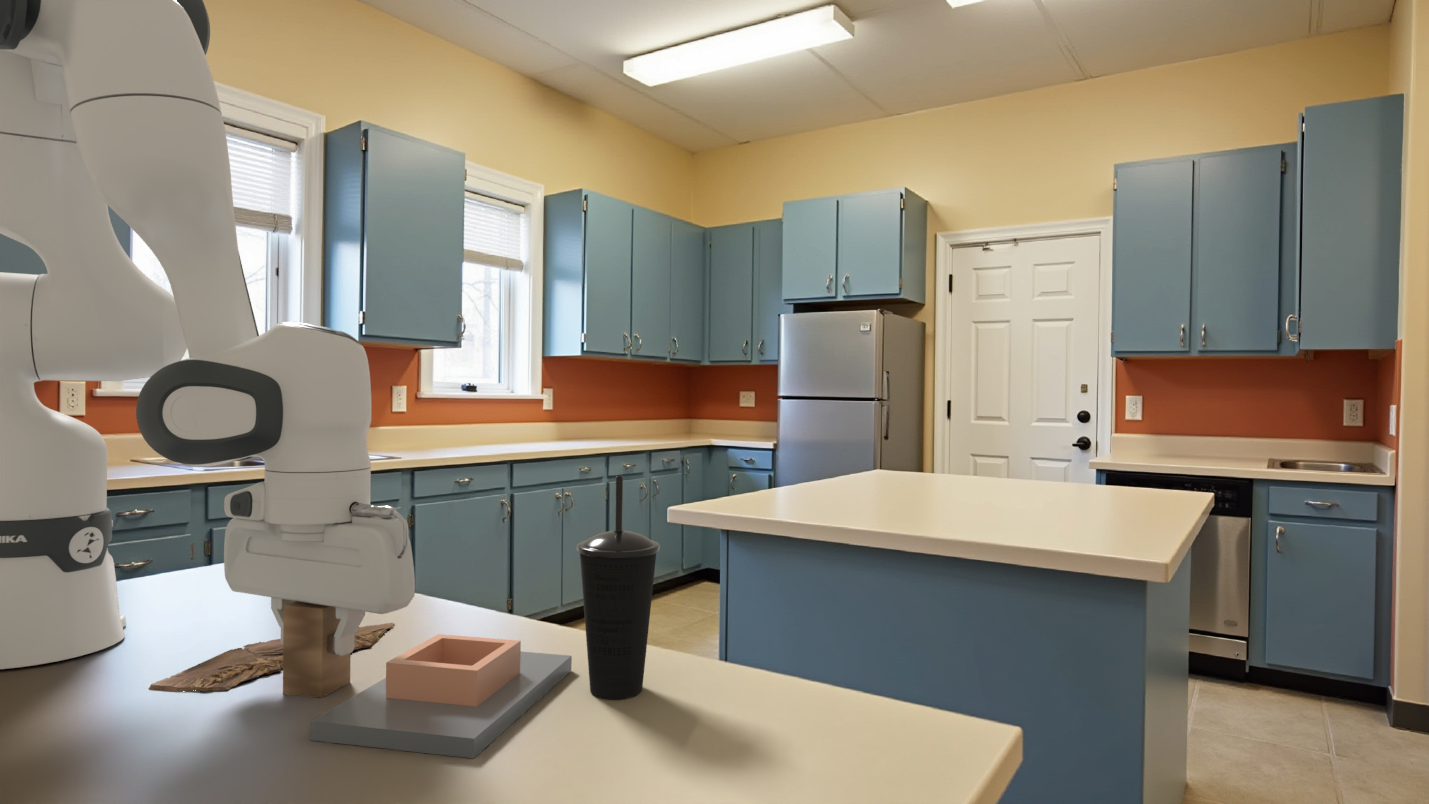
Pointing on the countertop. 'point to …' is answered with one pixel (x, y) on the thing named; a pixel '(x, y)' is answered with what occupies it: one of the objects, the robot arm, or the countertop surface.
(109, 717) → the countertop surface
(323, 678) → the brown wooden block
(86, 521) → the robot arm
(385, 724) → the stand
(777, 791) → the countertop surface
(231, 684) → the wooden fragment
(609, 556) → the drinking cup
